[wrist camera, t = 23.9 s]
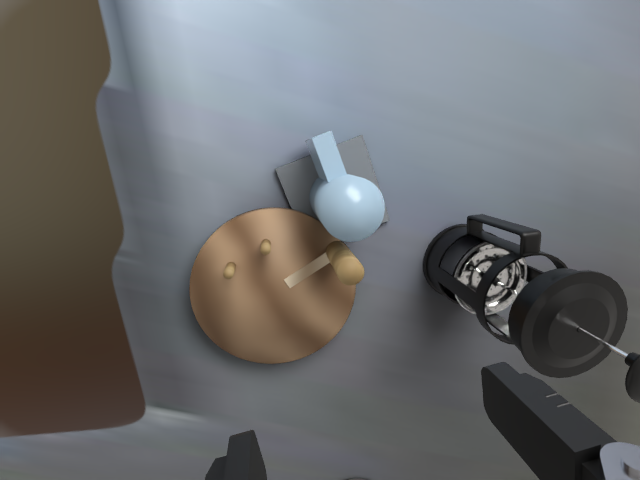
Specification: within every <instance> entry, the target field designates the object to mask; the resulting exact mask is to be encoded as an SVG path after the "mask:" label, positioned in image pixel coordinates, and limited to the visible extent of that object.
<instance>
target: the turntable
mask: <svg viewBox="0 0 640 480" xmlns="http://www.w3.org/2000/svg"><path fill="white" fill-rule="evenodd" d="M363 276H364V268H363V266H362V264H361V263H360V262H359V261H358V259H357V258H356V257H355V256H354V254H353V253H352V252H351V251H350V250H349V248H348V247H347V246H346V245H345V244H344V243H343V242H341V241H340V240H339V239H337V238H335V237H334V236H332V235H331V234H330V233H329V232H328V231H327V230H326V228H325V227H324V226H323V224H322V223H321V221H319V220H318V219H316V218H314V217H312V216H310V215H308V214H306V213H303V212H300V211H297V210H293V209H287V208H261V209H256V210H252V211H248V212H245V213H243V214H240V215H238V216H236V217H234V218H232V219H231V220H229V221H227V222H226V223H225V224H223V225H222V226H221V227H219V228H218V229H217V230H216V231H215V232H214V233H213V234H212V235H211V236H210V238H209V239H208V240H207V242H206V243H205V244H204V246H203V247H202V248H201V250H200V252H199V254H198V255H197V257H196V260H195V262H194V265H193V268H192V272H191V277H190V288H189V289H190V300H191V304H192V309H193V312H194V314H195V317H196V319H197V321H198V323H199V325H200V326H201V328H202V329H203V331H204V332H205V333H206V335H207V336H208V337H209V338H210V339H211V340H212V341H213V342H214V343H215V344H216V345H218V346H219V347H220V348H222V349H223V350H225V351H226V352H228V353H230V354H232V355H234V356H236V357H238V358H241V359H244V360H247V361H251V362H257V363H267V364H275V363H285V362H291V361H294V360H298V359H301V358H303V357H306V356H308V355H310V354H312V353H314V352H316V351H317V350H319V349H321V348H322V347H323V346H325V345H326V344H327V343H328V342H329V341H331V340H332V339H333V338H334V337H335V336H336V334H337V333H338V332H339V331H340V330H341V328H342V327H343V325H344V324H345V322H346V320H347V318H348V316H349V314H350V312H351V309H352V306H353V303H354V298H355V289H356V284H357V283H359V282H360V281H361V280H362V278H363Z"/></svg>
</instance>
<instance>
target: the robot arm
mask: <svg viewBox="0 0 640 480" xmlns="http://www.w3.org/2000/svg"><path fill="white" fill-rule="evenodd" d="M481 375H482V388H483V401H484V407H485V410H486V413H487V415H488V417H489V419H490V420H491V422H492V423H493V424H494V426H495V427H496V428H497V429H498V430H499V432H500V433H501V434H502V435H503V436H504V438H505V439H506V440H507V441H508V442H509V443H510V445H511V446H512V447H513V448H514V449H515V451H516V452H517V453H518V454H519V455H520V457H521V458H522V459H523V460H524V461H525V463H526V464H527V465H528V466H529V467H530V468H531V470H532V471H533V472H534V473H535V474H536V476H537V477H538V478H539V479H540V480H640V447H639V446H636V445H633V444H629V443H623V442H617V441H616V440H614V439H613V438H612V437H611V436H609V435H608V434H607V433H606V432H605V431H603V430H602V429H601V428H600V427H598V426H597V425H596V424H595V423H594V422H592V421H591V420H590V419H589V418H587V417H586V416H585V415H584V414H583V413H581V412H580V411H579V410H578V409H576V408H575V407H574V406H573V405H572V404H569V403H568V401H567V400H565V399H564V398H563V397H562V396H560V395H558V394H557V392H556V391H554V390H553V389H552V388H551V387H549V386H548V385H547V384H546V383H545V382H543V381H542V380H539V379H537V378H535V377H533V376H531V375H529V374H527V373H523V374H519V373H518V372H517V371H516V370H514V369H513V368H512V367H511V366H510V365H509V364H507V363H506V362H501V363H497V364H493V365H490V366H486V367H483V368H482V370H481ZM205 480H267V475H266V469H265V465H264V462H263V458H262V455H261V452H260V448H259V445H258V442H257V438H256V435H255V432H254V430H250V431H247V432H243V433H239V434H236V435H232V436H230V438H229V443H228V450H227V456H224V457H220V458H217V459H215V460H214V462H213V464H212V466H211V467H210V469H209V471H208V473H207V474H206V477H205ZM348 480H366V479H361V478H354V479H348Z"/></svg>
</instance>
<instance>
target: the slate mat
mask: <svg viewBox="0 0 640 480" xmlns="http://www.w3.org/2000/svg"><path fill="white" fill-rule="evenodd" d="M337 148H338V151H339V154H340V156H341V159H342V162H343V165H344V168H345V170H346V173H347V174H350V175H354V176H358V177H362V178H365V179H367V180H369V181H371V182H372V183H373V184H375V185H376V186H377V188H378V189H379V190H380V188H379V185H378V182H377V179H376V175H375V172H374V169H373V166H372V163H371V160H370V157H369V154H368V151H367V148H366V144H365V141H364V138H363V135H360V136H358V137H355V138H352V139H350V140H347V141H345V142H342V143H340V144H337ZM275 170H276V172H277V174H278V177H279V179H280V182H281V184H282V187H283V189H284V192H285V194H286V197H287V199H288V202H289V204H290V206H291V209H293V210H297V211H300V212H303V213H306V214H308V215H310V216H312V217H314V218H316V219H318V217H317V216H316V214H315V213H314V211H313V210H312V208H311V205H310V201H309V193H310V189H311V187H312V185H313V183H314V182H315V180H316V179H317V178H318V177H319V176H318V173H317V171H316V168H315V165H314V163H313V160H312V157H311V155H309V156H307V157H304V158H302V159H299V160H297V161H294V162H292V163H289V164H287V165H284V166H281V167H279V168H276V169H275ZM380 192H381V191H380ZM384 204H385V203H384ZM318 220H319V219H318ZM389 220H390V219H389V216H388V213H387V209H386V206H385V211H384V217H383V220H382V222H381V223H384V222H386V221H389ZM319 221H320V220H319Z"/></svg>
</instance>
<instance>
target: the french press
mask: <svg viewBox="0 0 640 480" xmlns="http://www.w3.org/2000/svg"><path fill="white" fill-rule="evenodd" d="M483 223H484V224H487V225H490V226H493V227H496V228H499V229H502V230H505V231H508V232H512V233H515V234H518V235H519V236H520V238H521V241H520V245H518V244H515V243H513V242H510V241H507V240H504V239H502V238H499V237H497V236H495V235H493V234H491V233H488V232H486V231H484V230H483V229H482V226H483ZM467 235H469V236H472V237H475V238H477V239H478V240H480V242H481V243H480V244H478V245H476V246H474V247H473V248H471V249H470V250H468V251H467V252H466V253H465V254H464V255H463V256H462V258H461V259H460V260H459V262H458V264H457V265H456V267H455V270H454V273H453V276H452V275H451V274H449V273H448V272H446V271H445V270H443V269H442V268H440V264H441V261H442V258H443V256H444V254H445V253H446V251H447V250H448V249H449V247H450V246H451V245H453V244H454V243H455V242H456V241H457V240H459V239H460V238H462V237H465V236H467ZM540 243H541V232H540V231H539V230H536V229H533V228H529V227H526V226H522V225H519V224H515V223H512V222H508V221H505V220H501V219H498V218H494V217H491V216H487V215H483V214H480V215H471V216H468V217H467V224H459V225H454V226H451V227H449V228H446V229H445V230H443V231H442V232H440V233H439V234H438V235H437V236H436V237H435V238H434V239H433V240H432V242H431V243H430V244H429V246H428V248H427V250H426V253H425V256H424V263H423V267H424V274H425V277H426V279H427V281H428V283H429V285H430V286H431V287H432V288H433V289H434V290H436V291H437V292H439V293H440V294H442V295H444V296H446V297H447V298H448V299H450V300H451V301H453V302H455V303H457V304H460V305H461V306H462V307H463V308H464V309H466V310H467V311H469V312H471V313H474V314H476V315H477V318H478V320H479V322H480V323H481V325H482V326H483V327H484V328H485V329H486V330H487V331H488V332H489V333H491V334H492V335H493V336H494V337H496V338H497V339H499V340H500V341H502V342H505V343H508V344H514V345H515V346H516V347H517V348H518V349H519V350H520V351H521V353H522V355H523V357H524V359H525V360H526V362H527V363H528V364H529V365H530V366H531V367H532V368H533V369H535V370H536V371H538V372H539V373H541V374H543V375H546V376H549V377H556V378H564V377H571V376H575V375H579V374H581V373H583V372H586V371H588V370H590V369H591V368H593V367H594V366H596V365H597V364H599V363H600V362H601V361H602V360H603V359H605V358H606V357H607V356H608V355H609V353H610V352H611V351H613V352H615V353H616V354H618V355H620V356H621V357H623V358H625V363H626V364H627V365H628V366H630V368H629V370H628V372H627V375H626V381H625V386H626V390H627V393H628V395H629V396H630V397H631V399H633V400H634V401H636V402H639V403H640V355H638V354H636V353H630V354H627V353H625V352H624V351H622V350H620V349H618V348H617V347H615V346H616V344H617V343H618V341H619V340H620V338H621V335H622V333H623V331H624V328H625V324H626V321H627V311H628V308H627V301H626V297H625V295H624V292H623V290H622V289H621V287H620V286H619V284H618V283H617V282H616V281H614V280H613V279H612V278H611V277H609V276H606V275H604V274H602V273H599V272H594V271H577V270H573V269H568V268H567V266H566V265H565V264H564V263H563V262H562V261H561V260H559V259H558V258H556V257H554V256H552V255H549V254H547V253H544V252H541V251H540ZM533 255H543V256H546V257H548V258H549V259H550V260H551V261H552V262H553V263H554V265H555V266H556V268H557V269H554V270H550V271H547V272H545V273H544V272H542V271H540V270H537V269H535V268H533V267H530V266H528V265H527V264H526V260H525V258H524V257H528V256H533ZM526 281H527V282H529V283H528V284H527V285H526V286H525V287H524V285H525V282H526ZM512 303H513V304H512ZM511 304H512V307H511V310H510V313H509V319H508V322H507V321H506V320H504V319H503V318H501V317H500V316H499V315H497V314H496V313H497V312H500V311H502V310H504V309H505V308H507V307H508V306H510V305H511ZM487 322H488V323H489V324H491V325H492V326H493V327H494V328H496V329H497V330H498V331H500V332H501V333H502V334H503V335H499V334H496V333H494V332H493V331H492V330H491V329H490V327H489V325H488V324H487ZM504 335H505V336H504Z"/></svg>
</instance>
